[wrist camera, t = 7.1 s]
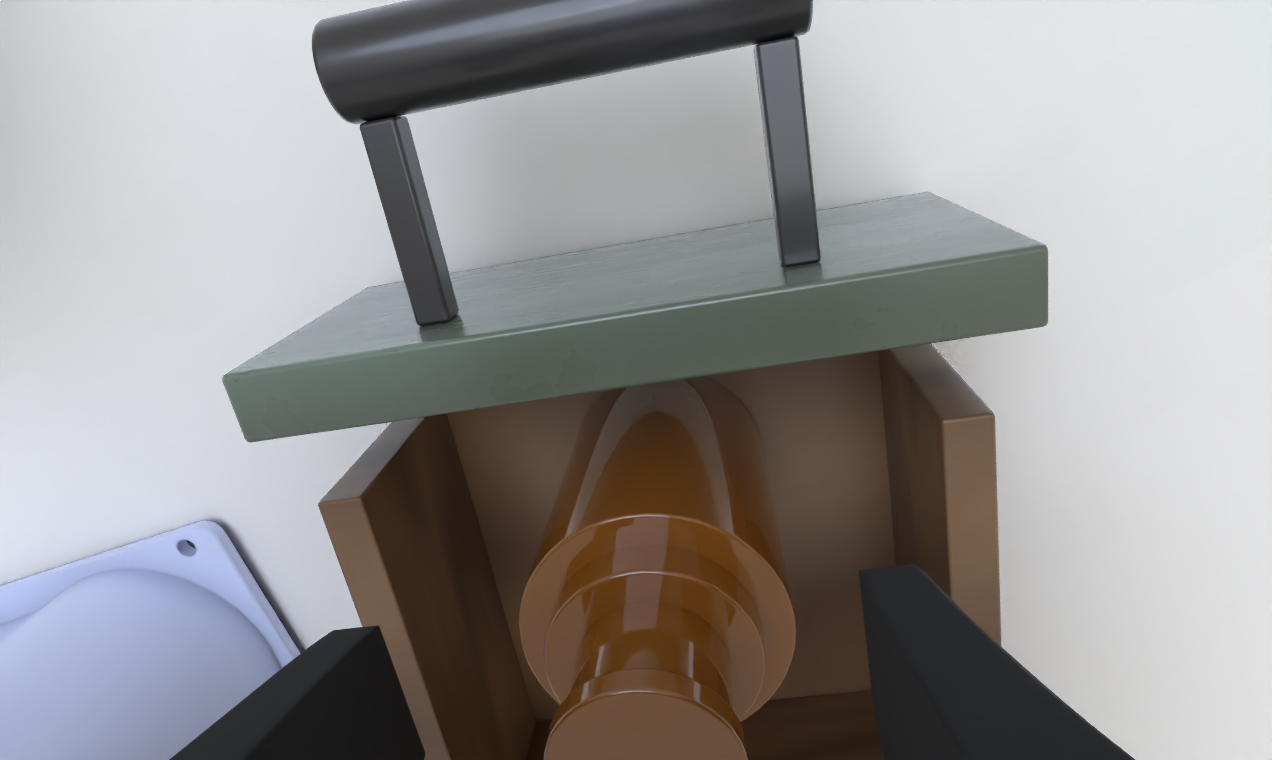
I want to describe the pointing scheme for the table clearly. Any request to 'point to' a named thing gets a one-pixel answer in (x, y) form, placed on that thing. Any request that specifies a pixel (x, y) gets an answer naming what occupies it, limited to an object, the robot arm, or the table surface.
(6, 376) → the table surface
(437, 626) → the rack drawer
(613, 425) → the glass bottle
